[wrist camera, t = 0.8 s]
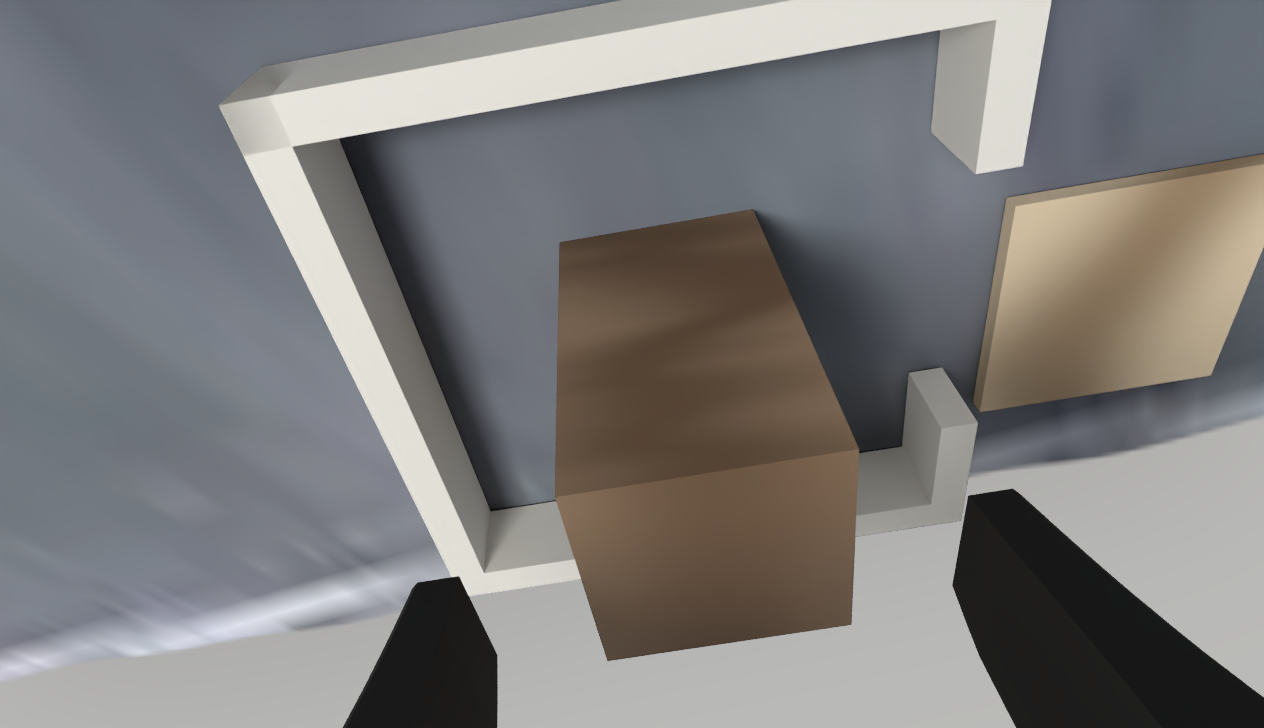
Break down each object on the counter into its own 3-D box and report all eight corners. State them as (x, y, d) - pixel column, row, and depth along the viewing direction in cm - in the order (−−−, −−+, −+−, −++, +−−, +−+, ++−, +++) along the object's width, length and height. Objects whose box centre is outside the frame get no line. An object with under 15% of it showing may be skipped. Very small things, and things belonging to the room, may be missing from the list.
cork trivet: (1284, 149, 15) (1300, 157, 15) (1199, 365, 19) (1210, 375, 18) (1006, 197, 15) (1015, 206, 15) (973, 401, 19) (979, 412, 18)
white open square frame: (997, -70, 12) (1060, -50, 11) (930, 462, 20) (961, 520, 18) (261, 67, 13) (218, 105, 11) (469, 535, 21) (461, 597, 19)
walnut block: (753, 209, 15) (859, 449, 10) (762, 362, 18) (851, 624, 12) (559, 242, 15) (554, 497, 10) (595, 390, 18) (608, 660, 12)
